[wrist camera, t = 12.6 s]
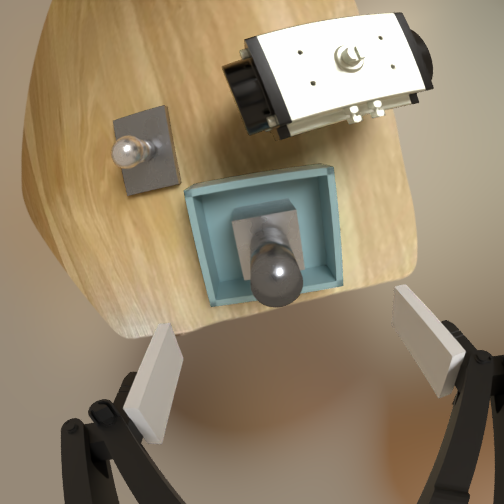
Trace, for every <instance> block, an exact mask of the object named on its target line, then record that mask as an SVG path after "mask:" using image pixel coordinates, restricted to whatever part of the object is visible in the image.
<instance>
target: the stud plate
mask: <svg viewBox="0 0 504 504" xmlns="http://www.w3.org/2000/svg"><path fill="white" fill-rule="evenodd" d="M113 124H114V131H115V136H116V142H115V143H114V145H113V147H112V150H111V156H112V160H113V162H114V163H115V164H116V165H117V166H118V167H120V168H122V173H123V178H124V183H125V187H126V192H127V196H129V195H133V194H137V193H141V192H145V191H150V190H154V189H158V188H163V187H167V186H172V185H176V184H180V183H181V178H180V173H179V168H178V163H177V158H176V152H175V147H174V142H173V136H172V130H171V125H170V119H169V113H168V107H167V106H165V105H163V106H159V107H156V108H152V109H149V110H145V111H142V112H139V113H135V114H132V115H129V116H126V117H123V118H120V119H117V120H114V121H113Z"/></svg>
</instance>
